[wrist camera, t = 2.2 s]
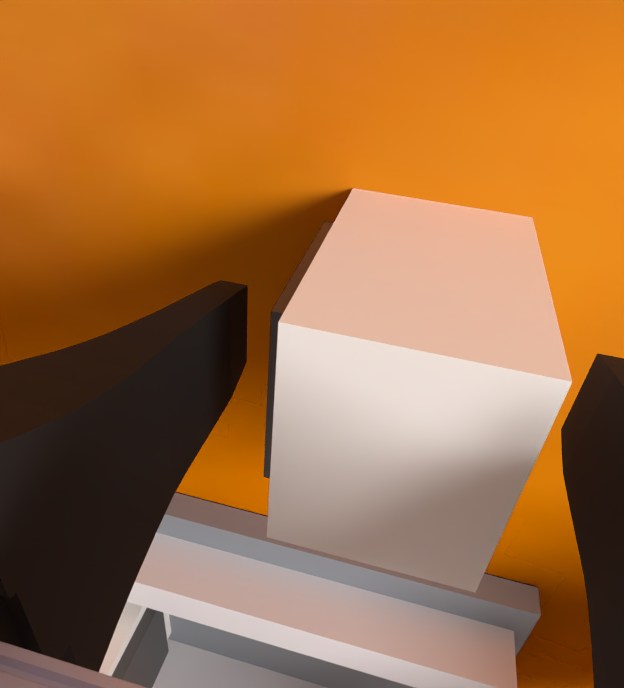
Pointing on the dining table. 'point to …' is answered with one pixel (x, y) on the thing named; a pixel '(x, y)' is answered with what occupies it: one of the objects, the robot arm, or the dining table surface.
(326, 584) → the rail plate
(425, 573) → the block
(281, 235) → the dining table surface
